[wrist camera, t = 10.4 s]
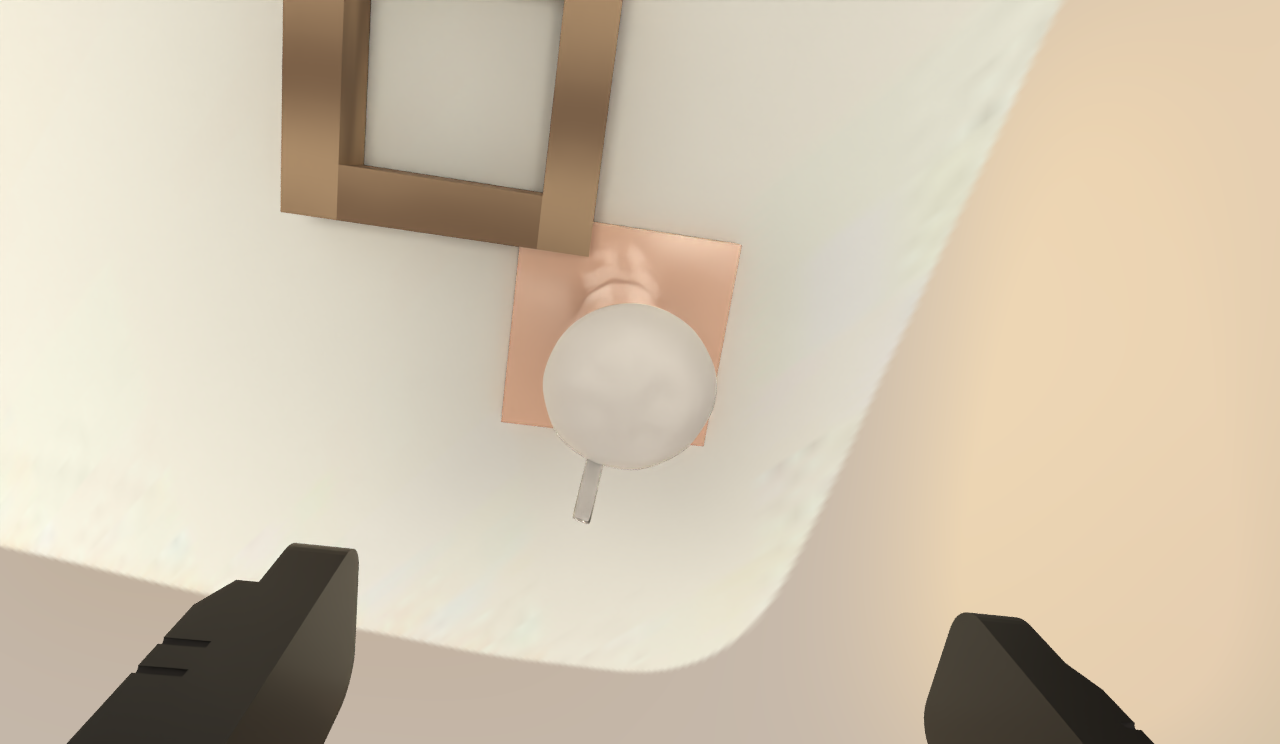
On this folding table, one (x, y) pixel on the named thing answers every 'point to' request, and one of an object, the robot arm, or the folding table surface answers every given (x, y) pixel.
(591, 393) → the milkshake
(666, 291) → the coaster
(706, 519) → the folding table surface
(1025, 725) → the robot arm
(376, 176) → the square brown frame
